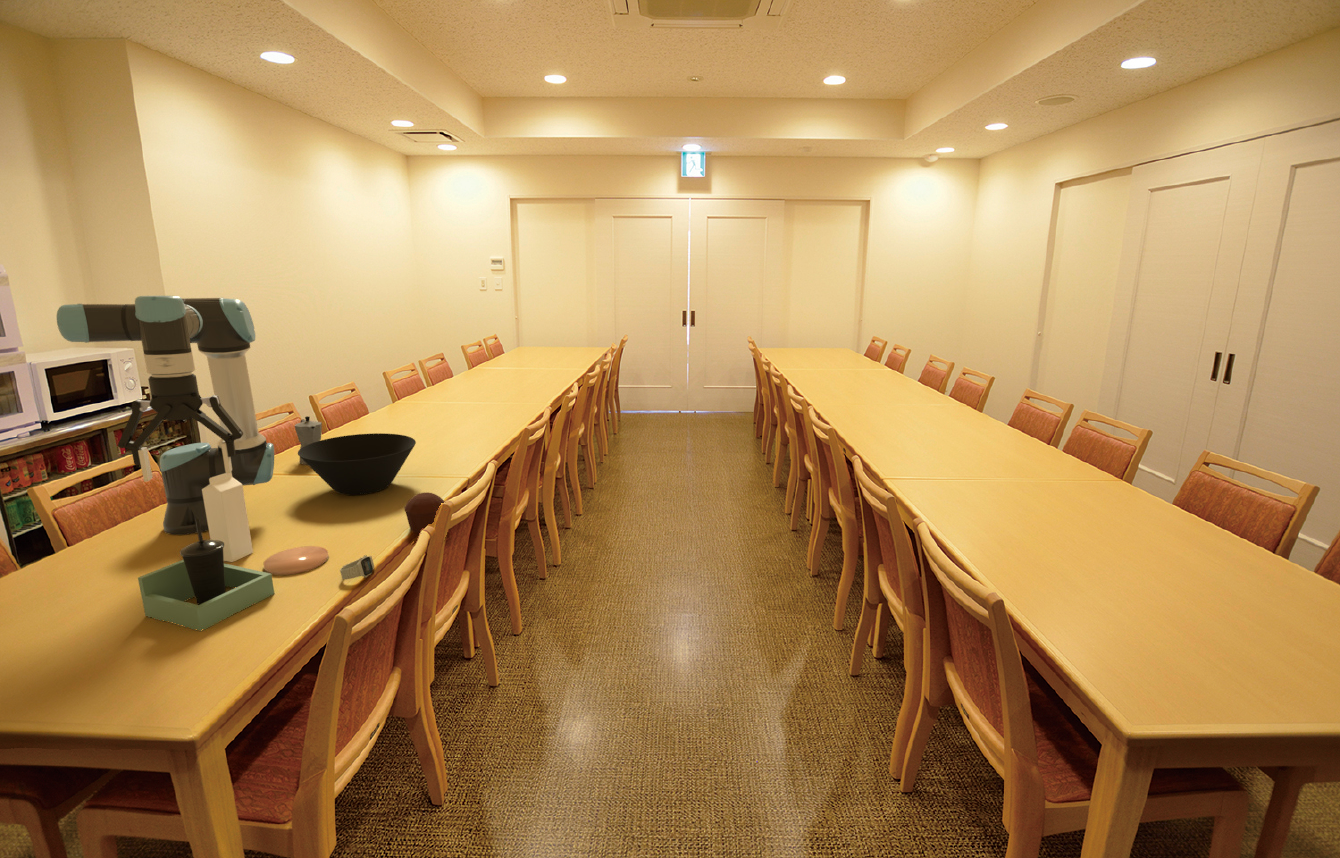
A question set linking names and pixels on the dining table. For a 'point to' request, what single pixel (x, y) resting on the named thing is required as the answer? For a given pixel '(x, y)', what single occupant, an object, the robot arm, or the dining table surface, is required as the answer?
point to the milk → (228, 516)
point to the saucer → (295, 560)
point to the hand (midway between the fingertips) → (189, 475)
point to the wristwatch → (358, 568)
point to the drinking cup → (205, 567)
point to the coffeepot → (308, 433)
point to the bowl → (358, 461)
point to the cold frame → (174, 587)
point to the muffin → (422, 510)
